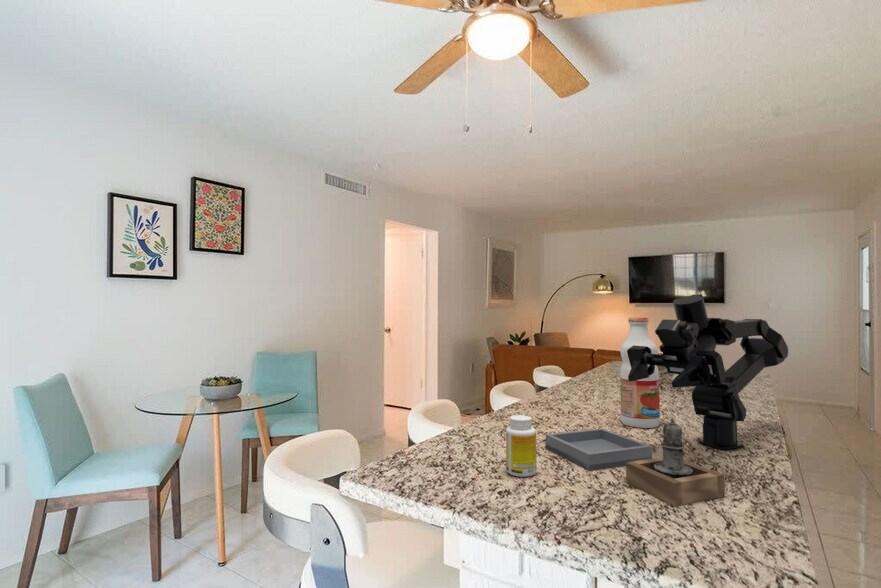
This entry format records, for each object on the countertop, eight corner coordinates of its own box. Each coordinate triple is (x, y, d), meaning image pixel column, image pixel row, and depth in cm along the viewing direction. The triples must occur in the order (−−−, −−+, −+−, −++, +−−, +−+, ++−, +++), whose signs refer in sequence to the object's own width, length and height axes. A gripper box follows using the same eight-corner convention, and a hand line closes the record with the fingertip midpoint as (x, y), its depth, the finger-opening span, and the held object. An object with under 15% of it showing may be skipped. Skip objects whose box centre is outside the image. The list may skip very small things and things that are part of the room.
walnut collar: (672, 475, 86) (672, 455, 86) (724, 496, 76) (724, 474, 76) (626, 482, 82) (625, 462, 82) (674, 506, 72) (673, 483, 72)
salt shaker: (698, 497, 75) (696, 422, 76) (659, 495, 77) (657, 421, 77) (686, 484, 81) (685, 414, 82) (650, 482, 82) (649, 413, 83)
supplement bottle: (542, 475, 86) (542, 419, 86) (517, 480, 84) (517, 422, 84) (524, 466, 91) (524, 413, 91) (500, 470, 89) (500, 416, 89)
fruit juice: (629, 418, 129) (627, 317, 130) (665, 424, 123) (663, 317, 124) (614, 424, 123) (613, 317, 124) (652, 431, 116) (649, 318, 117)
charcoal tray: (602, 441, 107) (602, 428, 107) (652, 461, 93) (652, 446, 93) (545, 448, 102) (545, 434, 102) (589, 470, 88) (589, 454, 88)
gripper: (642, 313, 105) (599, 340, 97) (730, 314, 90) (688, 346, 81) (653, 358, 107) (612, 389, 99) (741, 367, 91) (702, 404, 83)
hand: (650, 381), depth 91 cm, fingers open, 9 cm apart
